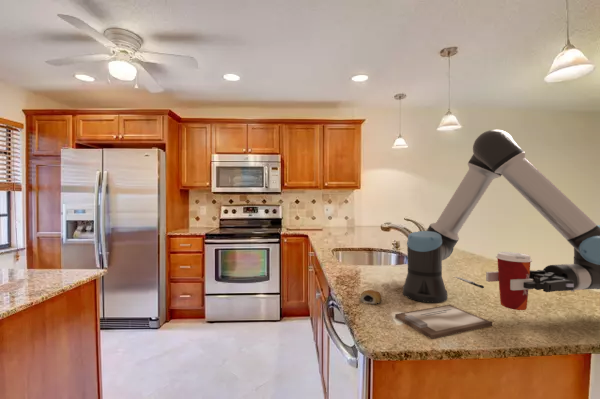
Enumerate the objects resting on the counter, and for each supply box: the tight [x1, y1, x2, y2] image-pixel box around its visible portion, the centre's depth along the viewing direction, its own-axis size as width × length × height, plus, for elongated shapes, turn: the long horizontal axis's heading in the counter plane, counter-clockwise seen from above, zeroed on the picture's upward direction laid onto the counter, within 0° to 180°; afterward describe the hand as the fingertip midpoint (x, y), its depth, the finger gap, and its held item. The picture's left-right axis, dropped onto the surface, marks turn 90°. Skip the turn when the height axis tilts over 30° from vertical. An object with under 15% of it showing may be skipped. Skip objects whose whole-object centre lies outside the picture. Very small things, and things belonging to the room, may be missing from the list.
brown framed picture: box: [394, 304, 493, 340], centre depth 81 cm, size 14×22×2 cm, turn 110°
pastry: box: [359, 289, 382, 305], centre depth 99 cm, size 9×7×4 cm
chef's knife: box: [455, 276, 485, 289], centre depth 122 cm, size 19×1×3 cm
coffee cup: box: [495, 251, 533, 311], centre depth 80 cm, size 8×8×15 cm
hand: (498, 280), depth 79 cm, fingers closed on coffee cup, 7 cm apart
